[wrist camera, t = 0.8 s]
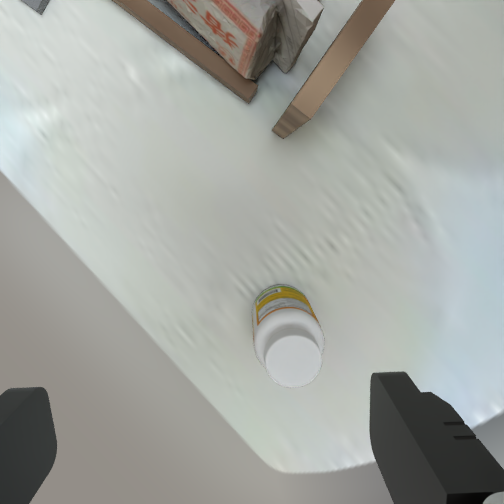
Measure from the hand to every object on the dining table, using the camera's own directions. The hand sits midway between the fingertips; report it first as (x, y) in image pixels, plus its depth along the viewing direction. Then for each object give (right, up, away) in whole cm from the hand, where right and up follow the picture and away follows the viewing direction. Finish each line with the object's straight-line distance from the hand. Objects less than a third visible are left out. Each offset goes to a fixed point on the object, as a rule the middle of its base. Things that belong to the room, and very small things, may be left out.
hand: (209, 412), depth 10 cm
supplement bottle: (+4, -2, +27) cm, 27 cm away
